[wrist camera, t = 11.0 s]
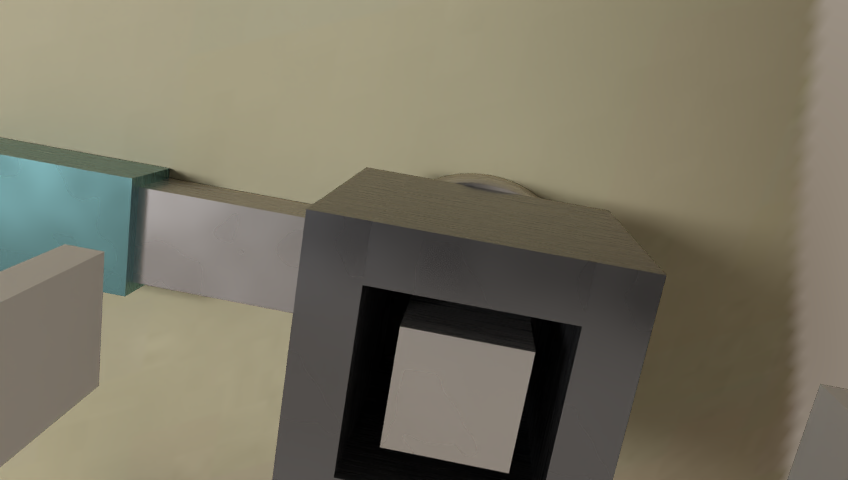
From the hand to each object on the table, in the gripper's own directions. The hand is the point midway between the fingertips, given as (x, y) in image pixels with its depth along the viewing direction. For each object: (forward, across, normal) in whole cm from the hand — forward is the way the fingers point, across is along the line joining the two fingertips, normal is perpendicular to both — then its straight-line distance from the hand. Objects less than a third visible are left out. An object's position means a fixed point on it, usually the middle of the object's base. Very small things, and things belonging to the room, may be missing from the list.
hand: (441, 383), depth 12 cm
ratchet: (+8, -6, 0) cm, 10 cm away
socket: (+6, 0, -1) cm, 6 cm away
